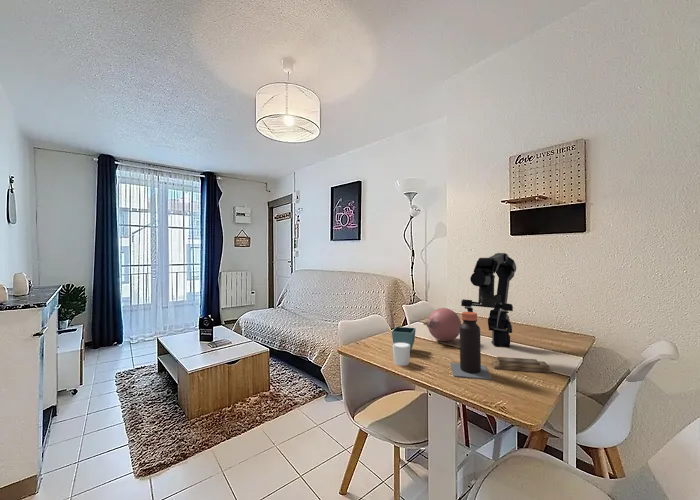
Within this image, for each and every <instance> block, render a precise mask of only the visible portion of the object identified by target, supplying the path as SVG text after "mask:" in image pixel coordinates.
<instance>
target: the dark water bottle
mask: <svg viewBox="0 0 700 500" xmlns="http://www.w3.org/2000/svg"><path fill="white" fill-rule="evenodd" d="M461 319H462V323H461V325H460V333H459V363H460V369H461V370H462V371H464V372H468V373H479V372H480V371H481V365H482V361H481V360H482V357H481V352H482V351H481V327H480V326H479V325H478V323H477V322H478V313H477V312H474V311H473V312H468V311H463V312H462V313H461Z"/></svg>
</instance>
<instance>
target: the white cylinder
mask: <svg viewBox="0 0 700 500" xmlns="http://www.w3.org/2000/svg"><path fill="white" fill-rule="evenodd" d="M392 354H393V363H394V364H395V366H396V365H397V366H399V367H404V366H405V367H406V366H408V365H409V364H410V356H411V355H410V354H411V350H410V344H408V343H404V342H397V343H393V342H392Z"/></svg>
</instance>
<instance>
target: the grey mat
mask: <svg viewBox="0 0 700 500" xmlns="http://www.w3.org/2000/svg"><path fill="white" fill-rule="evenodd" d="M450 367H451V371H452V375H453V377H455V378H466V379H479V380H486V381H487V380H488V381H489V380H490V381H492V380H493V378H492V375H491V374H490V371H489V370H488V369H487V366H486V365H484V364H481V371H480V372H479V373H468V372H464V371H462V370H461V369H460V362H459V363H458V362H450Z"/></svg>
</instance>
